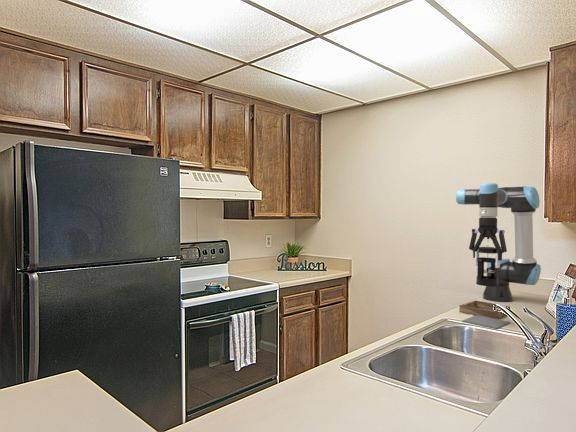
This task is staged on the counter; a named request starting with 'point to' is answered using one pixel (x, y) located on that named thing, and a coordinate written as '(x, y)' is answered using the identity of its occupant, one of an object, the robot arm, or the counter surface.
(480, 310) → the cradle
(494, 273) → the french press
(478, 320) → the mat
